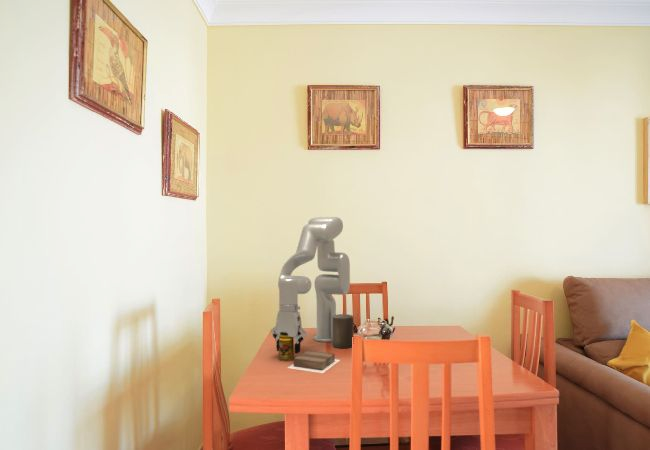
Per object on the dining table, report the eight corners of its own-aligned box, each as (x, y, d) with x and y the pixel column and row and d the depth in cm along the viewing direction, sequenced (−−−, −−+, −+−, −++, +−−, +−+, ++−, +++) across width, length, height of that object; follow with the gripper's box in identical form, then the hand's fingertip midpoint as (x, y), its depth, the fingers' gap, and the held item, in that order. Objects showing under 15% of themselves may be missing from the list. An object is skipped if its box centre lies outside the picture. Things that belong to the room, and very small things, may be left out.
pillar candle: (354, 348, 183) (353, 315, 183) (332, 348, 183) (332, 315, 184) (353, 343, 193) (352, 311, 193) (332, 343, 193) (332, 311, 193)
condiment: (279, 364, 162) (279, 333, 162) (275, 357, 170) (275, 329, 170) (297, 362, 164) (297, 332, 165) (292, 356, 172) (292, 327, 173)
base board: (307, 357, 170) (307, 355, 170) (340, 361, 164) (340, 359, 164) (287, 369, 155) (287, 367, 155) (322, 375, 149) (322, 373, 149)
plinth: (307, 357, 167) (307, 350, 168) (334, 361, 162) (334, 353, 163) (293, 366, 157) (293, 358, 157) (321, 370, 152) (321, 362, 152)
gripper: (311, 308, 167) (311, 351, 166) (275, 305, 174) (274, 346, 173) (302, 311, 160) (302, 356, 159) (265, 308, 167) (265, 351, 166)
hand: (288, 351), depth 166 cm, fingers open, 7 cm apart
